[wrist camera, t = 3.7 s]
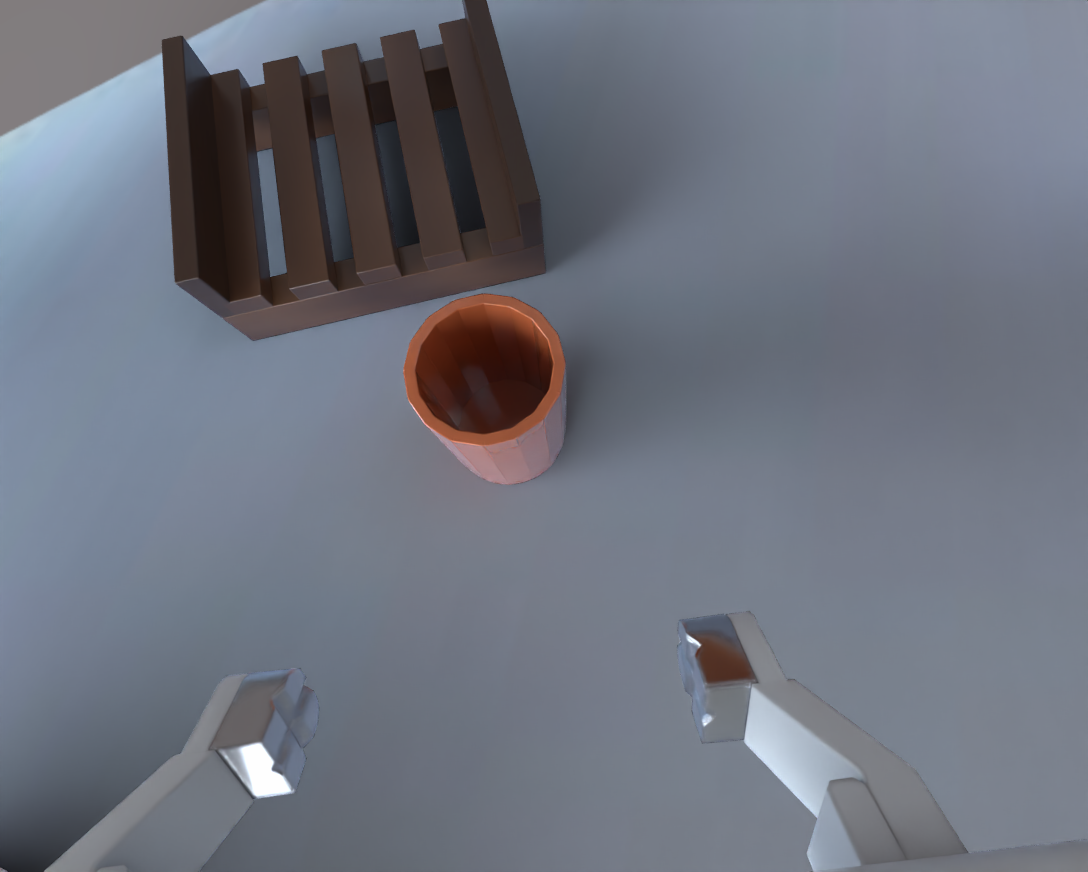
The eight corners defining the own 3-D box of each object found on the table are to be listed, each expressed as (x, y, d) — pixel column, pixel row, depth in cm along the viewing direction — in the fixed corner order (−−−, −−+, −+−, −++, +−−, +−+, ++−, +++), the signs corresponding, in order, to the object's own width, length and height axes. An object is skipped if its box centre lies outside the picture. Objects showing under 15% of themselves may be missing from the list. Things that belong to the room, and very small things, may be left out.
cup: (551, 365, 25) (544, 278, 18) (577, 470, 24) (582, 423, 16) (444, 390, 25) (392, 313, 17) (465, 496, 24) (418, 461, 16)
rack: (493, 75, 30) (478, -32, 24) (546, 273, 26) (541, 199, 21) (233, 134, 29) (160, 39, 24) (252, 341, 26) (173, 283, 21)
